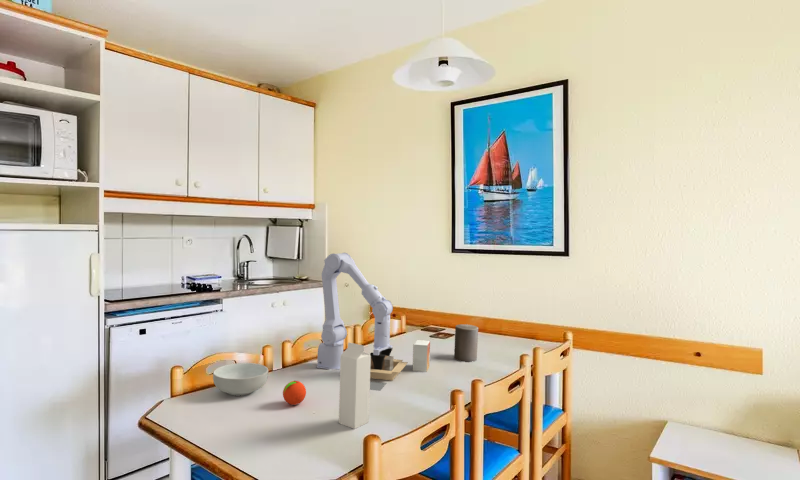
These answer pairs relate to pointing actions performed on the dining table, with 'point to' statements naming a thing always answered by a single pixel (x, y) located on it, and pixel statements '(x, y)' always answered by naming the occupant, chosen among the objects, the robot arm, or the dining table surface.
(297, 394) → the clementine
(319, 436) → the dining table surface
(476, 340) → the pillar candle
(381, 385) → the mat
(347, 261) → the robot arm
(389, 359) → the block
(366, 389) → the milk
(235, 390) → the cereal bowl
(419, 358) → the small box
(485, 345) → the dining table surface
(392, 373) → the tan shallow tray
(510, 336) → the dining table surface
